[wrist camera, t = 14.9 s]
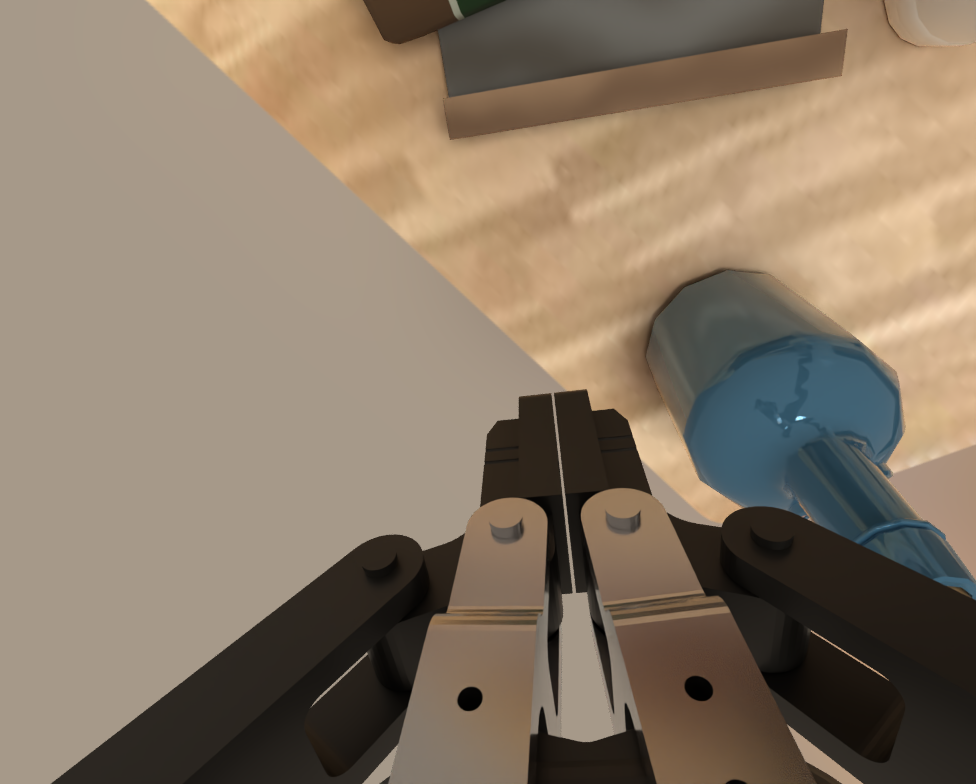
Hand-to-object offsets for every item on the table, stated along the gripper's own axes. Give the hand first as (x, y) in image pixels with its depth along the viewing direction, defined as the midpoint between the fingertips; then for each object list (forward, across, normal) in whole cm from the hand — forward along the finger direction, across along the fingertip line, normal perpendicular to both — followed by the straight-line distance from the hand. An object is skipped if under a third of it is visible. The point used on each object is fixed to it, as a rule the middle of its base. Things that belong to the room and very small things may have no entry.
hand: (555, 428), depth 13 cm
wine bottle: (+35, -15, +15) cm, 41 cm away
